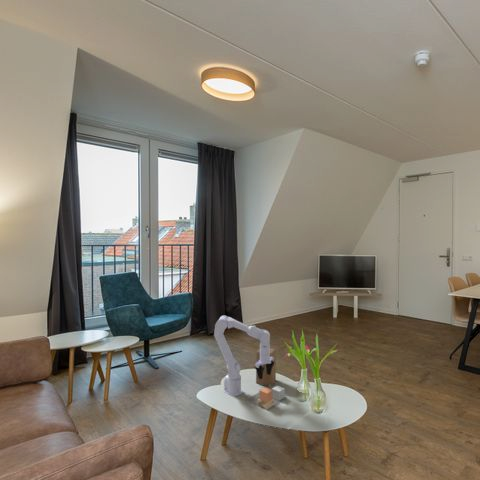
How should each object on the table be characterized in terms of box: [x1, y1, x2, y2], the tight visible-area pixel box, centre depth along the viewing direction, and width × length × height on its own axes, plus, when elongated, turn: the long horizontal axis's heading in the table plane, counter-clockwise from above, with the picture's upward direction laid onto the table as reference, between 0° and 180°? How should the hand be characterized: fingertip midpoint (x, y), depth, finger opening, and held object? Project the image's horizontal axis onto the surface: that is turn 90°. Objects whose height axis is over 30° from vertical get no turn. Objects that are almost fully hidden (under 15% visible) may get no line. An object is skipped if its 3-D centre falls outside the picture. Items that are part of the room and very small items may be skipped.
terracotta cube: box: [258, 386, 273, 403], centre depth 170 cm, size 5×5×5 cm
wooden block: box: [255, 347, 277, 387], centre depth 198 cm, size 10×10×20 cm
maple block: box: [258, 399, 274, 410], centre depth 171 cm, size 6×6×3 cm
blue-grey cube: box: [271, 385, 285, 400], centre depth 179 cm, size 5×5×5 cm
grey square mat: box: [245, 392, 289, 412], centre depth 177 cm, size 16×18×1 cm
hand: (264, 376), depth 183 cm, fingers open, 7 cm apart
